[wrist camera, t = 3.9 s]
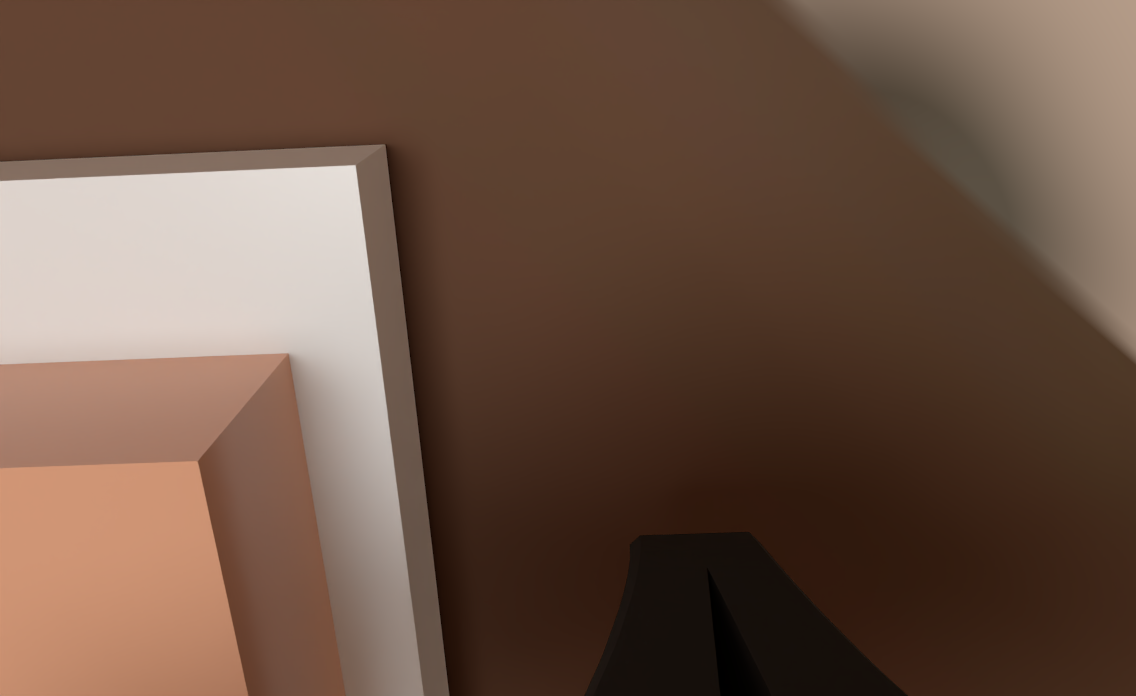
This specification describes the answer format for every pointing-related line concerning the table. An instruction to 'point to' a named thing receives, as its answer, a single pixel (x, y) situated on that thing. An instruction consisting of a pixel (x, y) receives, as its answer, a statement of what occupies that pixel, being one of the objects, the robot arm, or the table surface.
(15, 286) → the white riser
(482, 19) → the table surface
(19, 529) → the terracotta tile
